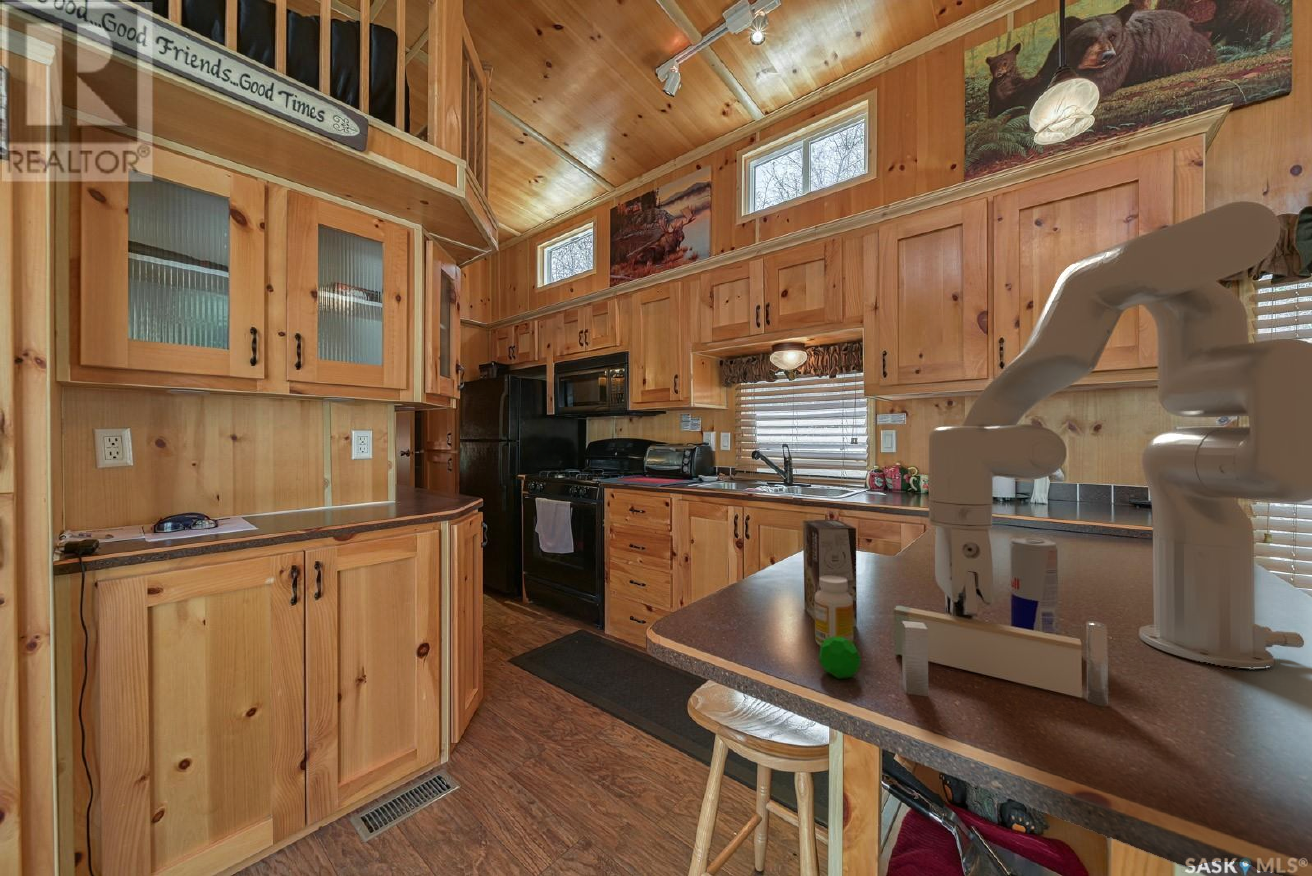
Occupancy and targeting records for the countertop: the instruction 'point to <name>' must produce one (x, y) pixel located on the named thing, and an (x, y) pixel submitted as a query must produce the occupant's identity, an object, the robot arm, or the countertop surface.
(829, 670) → the polyhedron
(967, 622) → the gate
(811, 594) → the coffee box
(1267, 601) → the countertop surface
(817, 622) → the supplement bottle
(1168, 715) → the countertop surface
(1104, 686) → the gate frame
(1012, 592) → the beverage can
